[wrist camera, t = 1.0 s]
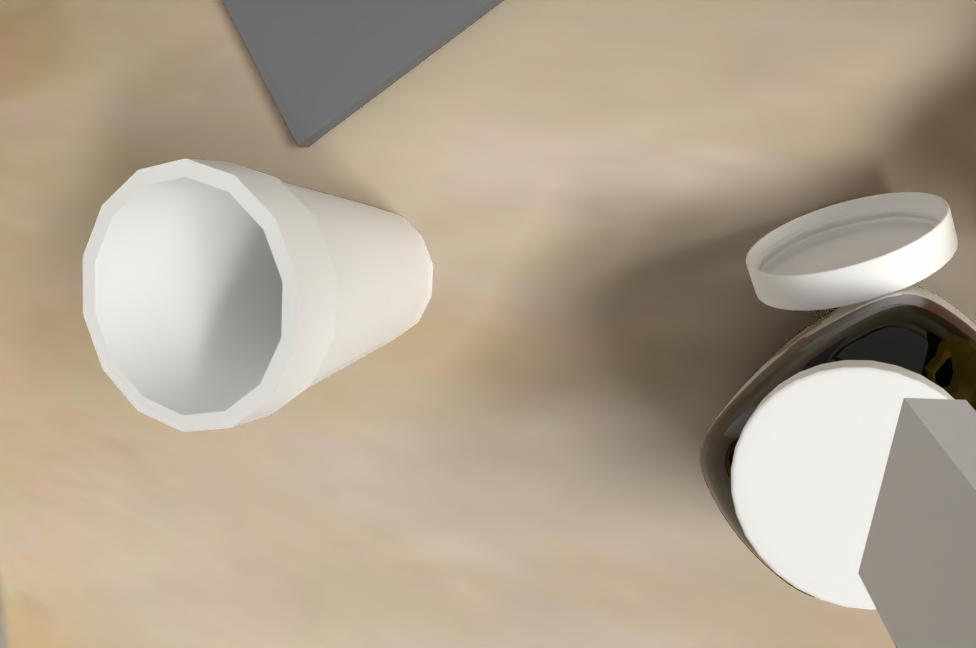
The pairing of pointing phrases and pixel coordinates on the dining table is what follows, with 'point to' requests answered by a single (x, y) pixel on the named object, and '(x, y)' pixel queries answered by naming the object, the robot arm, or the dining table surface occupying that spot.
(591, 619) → the dining table surface
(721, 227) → the dining table surface
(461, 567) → the dining table surface
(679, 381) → the dining table surface
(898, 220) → the spread jar
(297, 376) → the foam cup
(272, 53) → the rubber mat
